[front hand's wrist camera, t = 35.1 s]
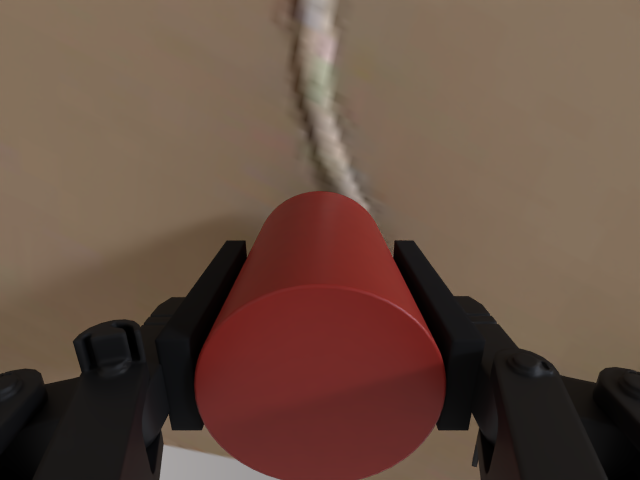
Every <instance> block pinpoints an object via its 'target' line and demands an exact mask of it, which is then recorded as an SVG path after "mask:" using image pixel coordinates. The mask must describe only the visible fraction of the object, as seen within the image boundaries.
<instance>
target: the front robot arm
mask: <svg viewBox="0 0 640 480" xmlns="http://www.w3.org/2000/svg"><path fill="white" fill-rule="evenodd" d="M246 259H247V253H246V241H226V242H225V244H224V245H223V246H222V248H221V249H220V251H219V252H218V253H217V255H216V256H215V258H214V259H213V260H212V262H211V263H210V264H209V266H208V267H207V269H206V270H205V271H204V273H203V274H202V275H201V277H200V278H199V280H198V281H197V282H196V284H195V285H194V287H193V288H192V289H191V291H190V292H189V293H188V295H187V296H186V297H172V298H170V299H168V300H167V301H165V302H163V303H162V304H160V305H159V306H158V307H157V308H156V309H155V310H154V312H153V313H152V314H151V316H150V317H149V318H148V319H147V320H146V321H145V322H144V325H142V326H141V327H140V326H139V324H137V323H136V322H135V321H131V320H126V319H124V320H112V321H108V322H104V323H100V324H98V325H95V326H93V327H91V328H89V329H87V330H85V331H84V332H82V333H81V334H79V335H78V336H77V337H76V339H75V340H74V341H73V344H74V347H75V351H76V354H77V358H78V361H79V364H80V368H81V371H82V373H81V375H80V377H77V378H73V379H68V380H63V381H59V382H54V383H49V384H44V381H43V378H42V375H41V373H39V372H38V371H37V370H34V369H20V370H13V371H9V372H5V373H2V374H0V480H159V478H160V469H161V461H162V452H163V444H164V443H163V436H162V431H161V428H162V426H163V424H164V422H165V420H166V418H167V416H168V414H169V417H170V422H171V427H172V430H202V428H203V426H204V423H203V420H202V418H201V416H200V414H199V411H198V407H197V404H196V400H195V391H194V375H195V368H196V364H197V360H198V357H199V354H200V352H201V349H202V347H203V345H204V343H205V341H206V339H207V337H208V335H209V333H210V331H211V329H212V327H213V325H214V323H215V321H216V319H217V317H218V315H219V313H220V311H221V309H222V307H223V305H224V303H225V301H226V299H227V297H228V295H229V293H230V291H231V289H232V287H233V285H234V283H235V281H236V279H237V277H238V275H239V273H240V271H241V269H242V267H243V265H244V263H245V261H246ZM393 259H394V261H395V263H396V265H397V267H398V269H399V271H400V273H401V275H402V277H403V279H404V281H405V283H406V285H407V287H408V289H409V291H410V293H411V295H412V297H413V299H414V301H415V303H416V305H417V307H418V309H419V311H420V313H421V315H422V317H423V319H424V321H425V323H426V325H427V327H428V329H429V331H430V333H431V335H432V337H433V339H434V341H435V343H436V345H437V347H438V349H439V351H440V353H441V356H442V359H443V363H444V366H445V373H446V395H445V400H444V405H443V409H442V411H441V414H440V416H439V419H438V421H437V423H436V425H437V428H438V430H468V429H469V424H470V418H471V413H472V414H473V416H474V418H475V420H476V422H477V424H478V426H479V431H478V436H477V441H476V446H475V451H474V455H473V461H472V466H474V467H477V463H478V460H479V468H480V477H481V480H640V372H636V371H634V370H630V369H625V368H618V367H612V368H605V369H604V370H602V371H601V372H600V373H599V376H598V379H597V382H596V383H594V382H589V381H584V380H579V379H575V378H570V377H565V376H562V375H559V372H558V371H557V370H556V368H555V367H554V366H553V364H551V363H550V362H549V361H547V360H546V359H545V358H543V357H541V356H539V355H537V354H535V353H533V352H530V351H527V350H523V349H519V348H518V347H517V346H516V344H515V343H514V342H513V341H512V340H511V338H510V337H509V336H508V335H507V334H506V333H505V331H504V330H503V329H502V328H501V327H500V325H499V324H497V322H496V321H495V319H494V318H493V317H492V316H490V313H489V312H488V311H487V310H486V309H485V308H484V306H483V305H482V304H480V303H479V302H477V301H476V300H474V299H472V298H471V297H469V296H453V294H452V293H451V292H450V290H449V289H448V288H447V286H446V285H445V283H444V282H443V281H442V279H441V278H440V277H439V275H438V274H437V272H436V271H435V270H434V268H433V267H432V265H431V264H430V263H429V261H428V260H427V259H426V257H425V256H424V254H423V253H422V252H421V250H420V249H419V248H418V246H417V245H416V243H415V242H414V241H395V243H394V256H393Z"/></svg>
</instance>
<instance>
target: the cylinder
mask: <svg viewBox="0 0 640 480" xmlns="http://www.w3.org/2000/svg"><path fill="white" fill-rule="evenodd" d="M194 391H195V400H196V404H197V407H198V411H199V414H200V416H201V418H202V420H203V423H204V425H205V426H206V428H207V429H208V431H209V433H210V434H211V436H212V437H213V438H214V439H215V440H216V441H217V443H218V444H219V445H220V446H221V447H222V448H223V449H224V450H225V451H227V452H228V453H229V454H230V455H231V456H233V457H234V458H235V459H237V460H238V461H240V462H241V463H243V464H244V465H246V466H248V467H250V468H252V469H253V470H256V471H258V472H260V473H263V474H265V475H268V476H271V477H274V478H277V479H280V480H359V479H363V478H367V477H369V476H372V475H375V474H378V473H380V472H382V471H384V470H386V469H389V468H391V467H392V466H394V465H396V464H397V463H399V462H401V461H402V460H404V459H405V458H406V457H408V456H409V455H410V454H411V453H413V452H414V451H415V450H416V449H417V448H418V447H419V446H420V445H421V444H422V443H423V442H424V441H425V439H426V438H427V437H428V436H429V434H430V433H431V432H432V430H433V428H434V426H435V425H436V423H437V421H438V419H439V416H440V414H441V411H442V409H443V405H444V400H445V395H446V373H445V366H444V363H443V359H442V356H441V353H440V351H439V349H438V347H437V345H436V343H435V341H434V339H433V337H432V335H431V333H430V331H429V329H428V327H427V325H426V323H425V321H424V319H423V317H422V315H421V313H420V311H419V309H418V307H417V305H416V303H415V301H414V299H413V297H412V295H411V293H410V291H409V289H408V287H407V285H406V283H405V281H404V279H403V277H402V275H401V273H400V271H399V269H398V267H397V265H396V263H395V261H394V259H393V257H392V255H391V253H390V251H389V249H388V247H387V245H386V243H385V241H384V239H383V237H382V235H381V233H380V231H379V229H378V227H377V225H376V223H375V221H374V220H373V218H372V217H371V215H370V214H369V213H368V212H367V211H366V210H365V209H364V208H363V207H362V206H361V205H360V204H358V203H357V202H355V201H354V200H352V199H350V198H348V197H346V196H343V195H340V194H337V193H332V192H324V191H316V192H308V193H303V194H300V195H297V196H294V197H292V198H290V199H288V200H286V201H285V202H283V203H282V204H280V205H279V206H278V207H277V208H276V209H275V210H274V211H273V212H272V213H271V214H270V215H269V217H268V218H267V220H266V221H265V223H264V225H263V227H262V229H261V231H260V233H259V235H258V237H257V239H256V241H255V243H254V245H253V247H252V249H251V251H250V253H249V255H248V257H247V259H246V261H245V263H244V265H243V267H242V269H241V271H240V273H239V275H238V277H237V279H236V281H235V283H234V285H233V287H232V289H231V291H230V293H229V295H228V297H227V299H226V301H225V303H224V305H223V307H222V309H221V311H220V313H219V315H218V317H217V319H216V321H215V323H214V325H213V327H212V329H211V331H210V333H209V335H208V337H207V339H206V341H205V343H204V345H203V347H202V349H201V352H200V354H199V357H198V360H197V364H196V368H195V375H194Z"/></svg>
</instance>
